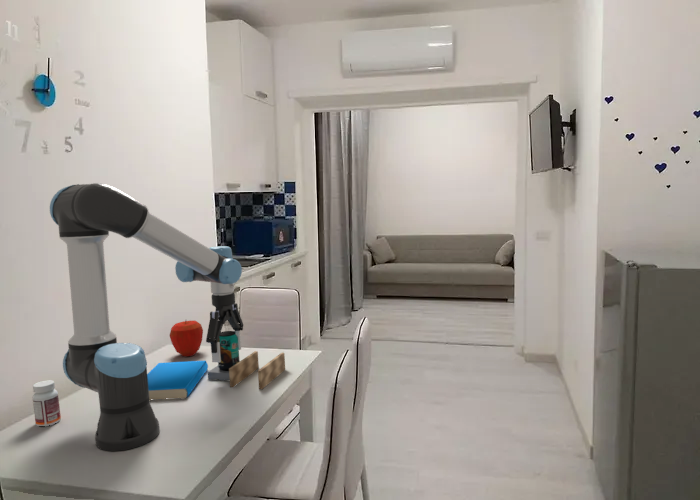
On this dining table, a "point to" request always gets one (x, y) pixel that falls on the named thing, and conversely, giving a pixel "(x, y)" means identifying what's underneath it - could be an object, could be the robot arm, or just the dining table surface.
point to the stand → (218, 374)
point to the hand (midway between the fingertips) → (227, 355)
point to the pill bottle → (46, 403)
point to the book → (175, 379)
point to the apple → (186, 337)
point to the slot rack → (251, 365)
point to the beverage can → (228, 350)
